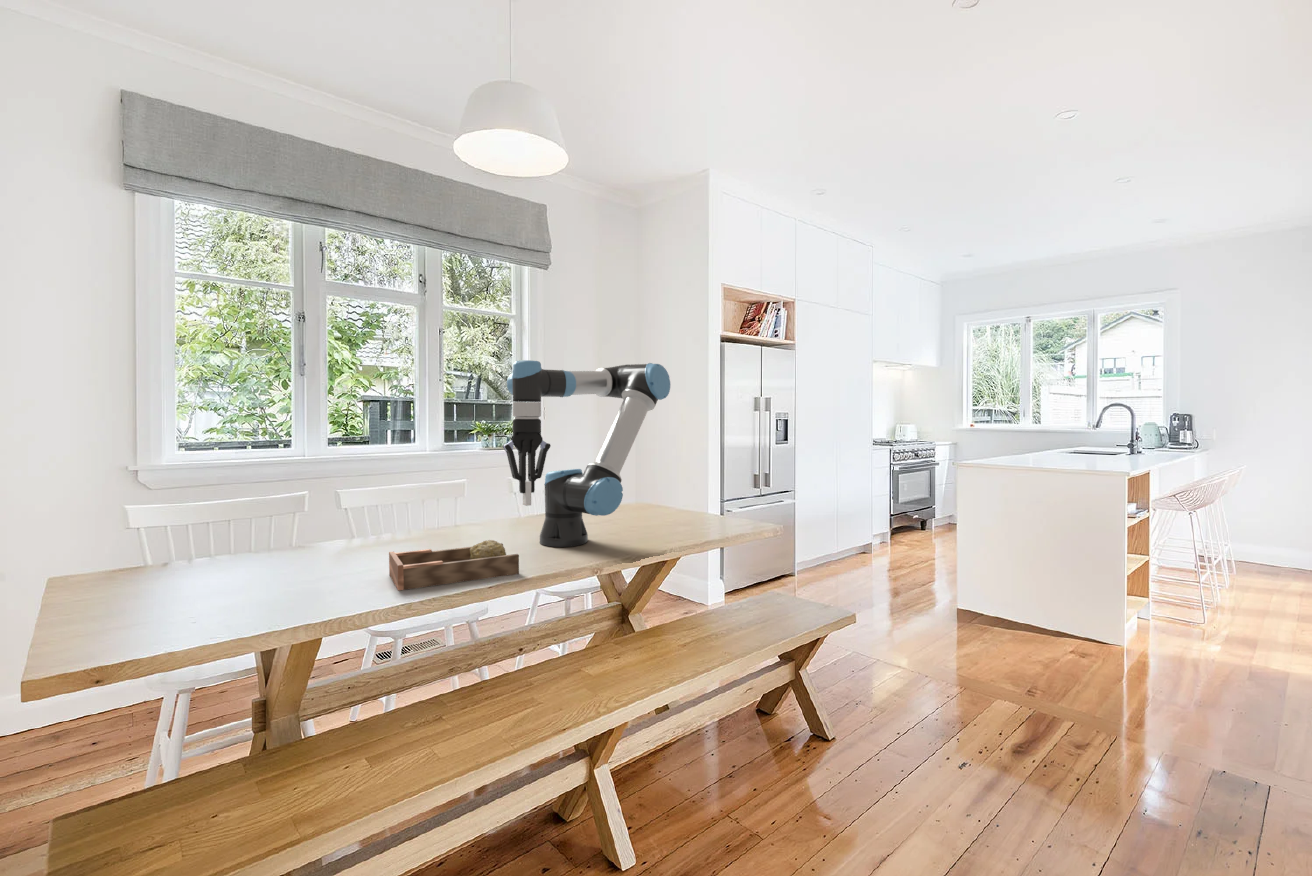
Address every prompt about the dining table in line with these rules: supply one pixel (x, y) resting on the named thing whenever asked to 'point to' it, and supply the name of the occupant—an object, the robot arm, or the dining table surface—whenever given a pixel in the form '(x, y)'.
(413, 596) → the dining table surface
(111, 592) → the dining table surface
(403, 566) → the tray
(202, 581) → the dining table surface
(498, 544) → the coral
